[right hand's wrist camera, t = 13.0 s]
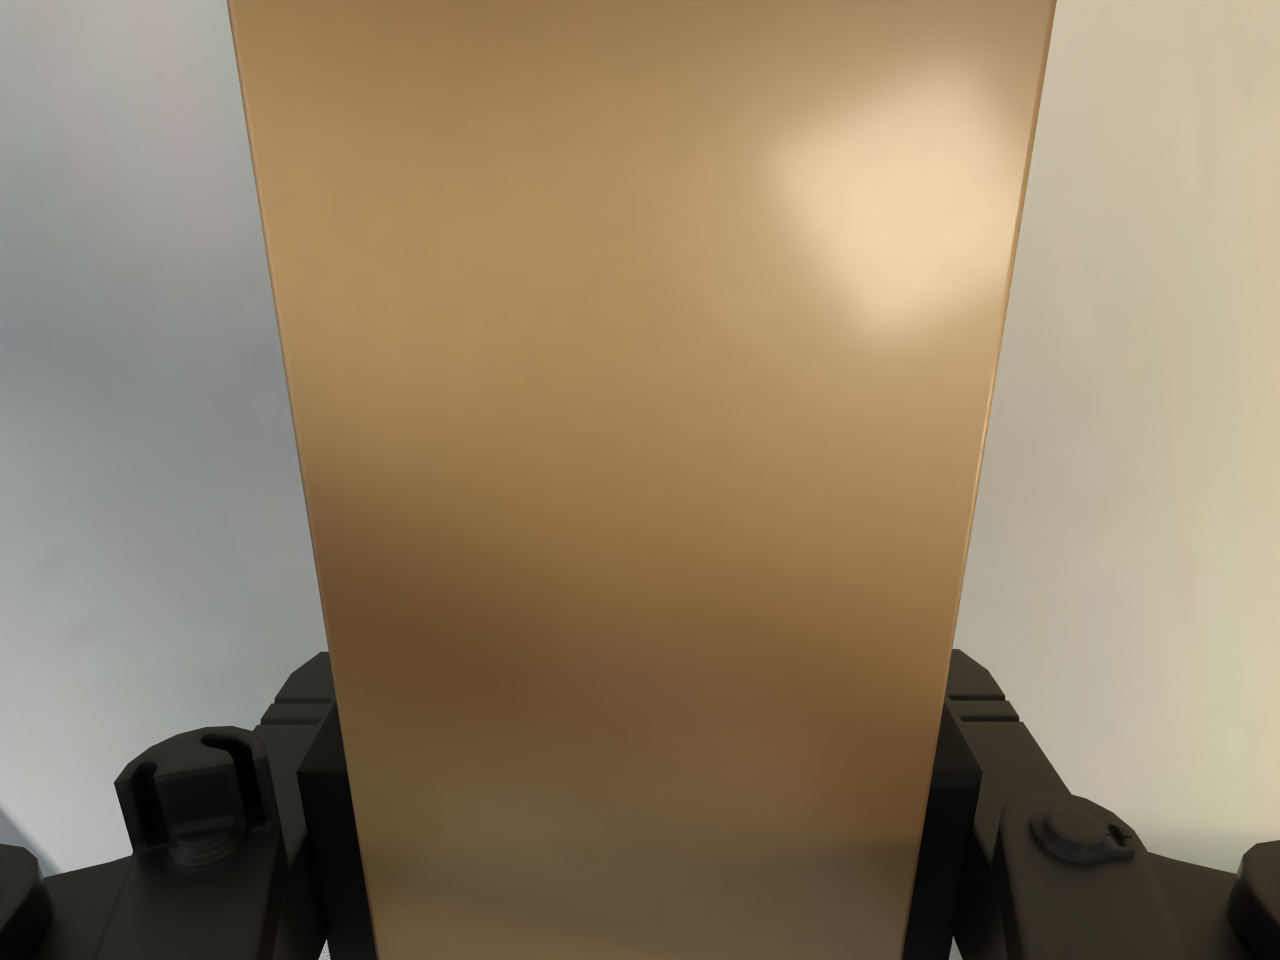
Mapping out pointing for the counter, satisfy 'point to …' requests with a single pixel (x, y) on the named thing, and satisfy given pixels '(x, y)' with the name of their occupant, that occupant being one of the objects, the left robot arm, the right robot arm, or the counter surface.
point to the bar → (640, 443)
